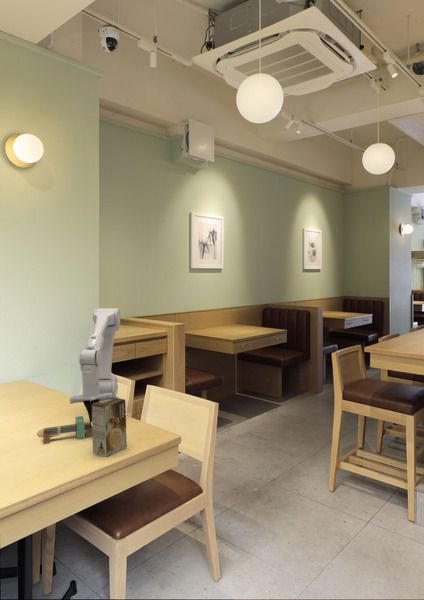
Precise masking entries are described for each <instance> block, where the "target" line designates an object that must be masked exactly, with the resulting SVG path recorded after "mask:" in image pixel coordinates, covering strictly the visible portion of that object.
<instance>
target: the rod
mask: <svg viewBox="0 0 424 600" xmlns="http://www.w3.org/2000/svg"><path fill="white" fill-rule="evenodd" d="M84 428H85V437H86V438H93V435H92V422H90V421H89V422H88V421H87V422H84ZM43 429H44V430H43V437H42V439H43V444H44V445H47V444H50V443H51V437H50V435H55V434H58V435H57V436H60V435H61V434H68V433H74V432H75V433H76V431H77V424H76V423H73V424H67V425H66V424H65V425H57V426H50V427H44V428H43ZM59 434H60V435H59Z"/></svg>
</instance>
